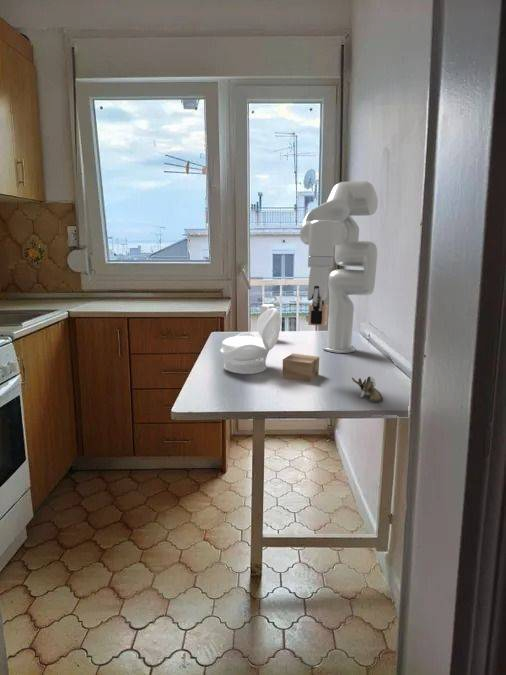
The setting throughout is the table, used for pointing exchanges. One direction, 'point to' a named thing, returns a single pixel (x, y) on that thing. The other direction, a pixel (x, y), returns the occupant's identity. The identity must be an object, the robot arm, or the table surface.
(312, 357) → the walnut block
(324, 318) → the peach block
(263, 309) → the white rounded tall piece
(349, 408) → the table surface
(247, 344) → the white toilet model
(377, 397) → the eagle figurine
